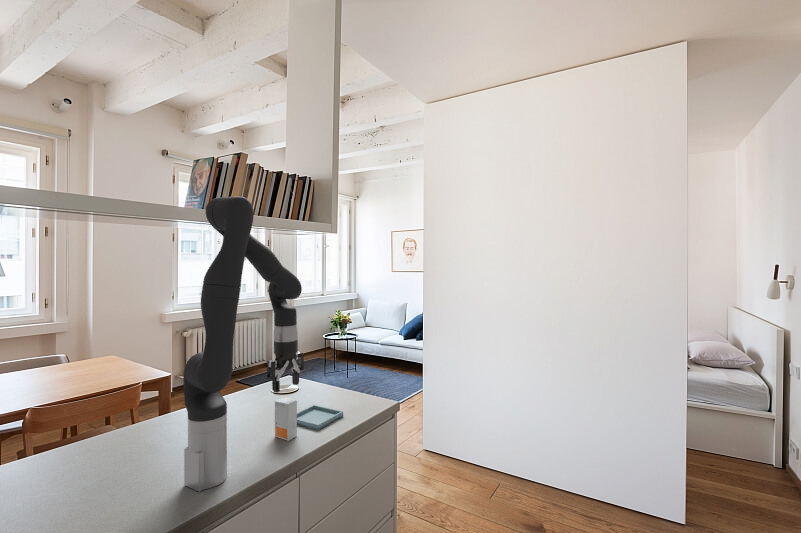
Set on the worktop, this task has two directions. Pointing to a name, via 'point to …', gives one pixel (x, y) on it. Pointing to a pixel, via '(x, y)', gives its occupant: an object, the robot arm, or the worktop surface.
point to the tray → (317, 417)
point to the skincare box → (286, 418)
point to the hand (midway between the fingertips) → (286, 388)
